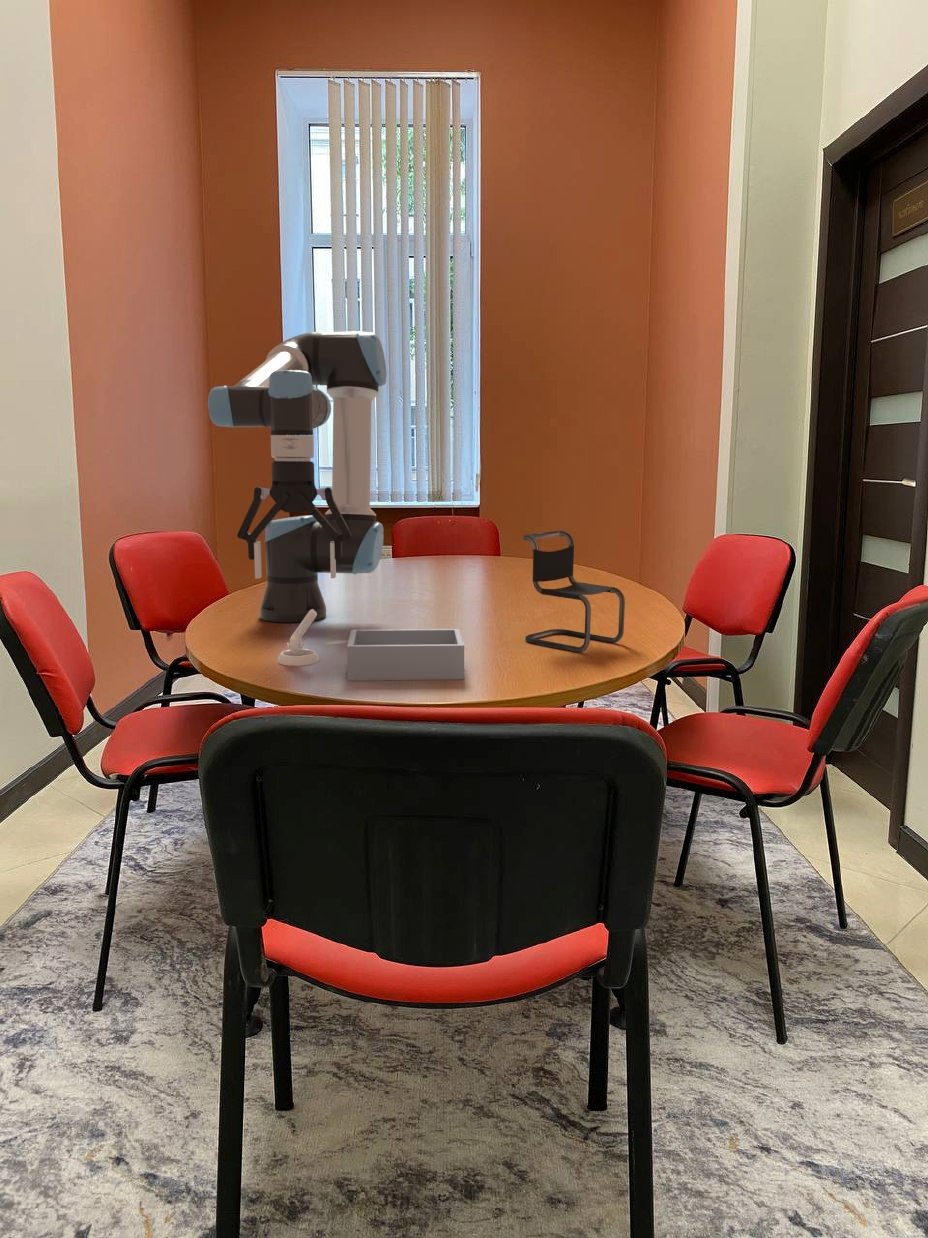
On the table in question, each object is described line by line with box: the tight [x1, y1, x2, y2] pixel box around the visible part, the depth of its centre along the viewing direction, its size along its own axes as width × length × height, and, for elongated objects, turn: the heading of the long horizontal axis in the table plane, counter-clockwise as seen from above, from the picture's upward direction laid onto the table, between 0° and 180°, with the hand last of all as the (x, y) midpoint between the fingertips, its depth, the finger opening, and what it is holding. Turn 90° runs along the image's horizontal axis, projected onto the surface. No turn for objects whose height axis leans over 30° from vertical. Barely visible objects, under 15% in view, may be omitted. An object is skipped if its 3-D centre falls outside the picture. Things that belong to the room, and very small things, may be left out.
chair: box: [522, 530, 626, 653], centre depth 184 cm, size 13×17×22 cm
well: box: [346, 628, 465, 682], centre depth 162 cm, size 14×20×6 cm
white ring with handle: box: [277, 609, 320, 667], centre depth 168 cm, size 8×12×7 cm
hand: (296, 577), depth 166 cm, fingers open, 13 cm apart
